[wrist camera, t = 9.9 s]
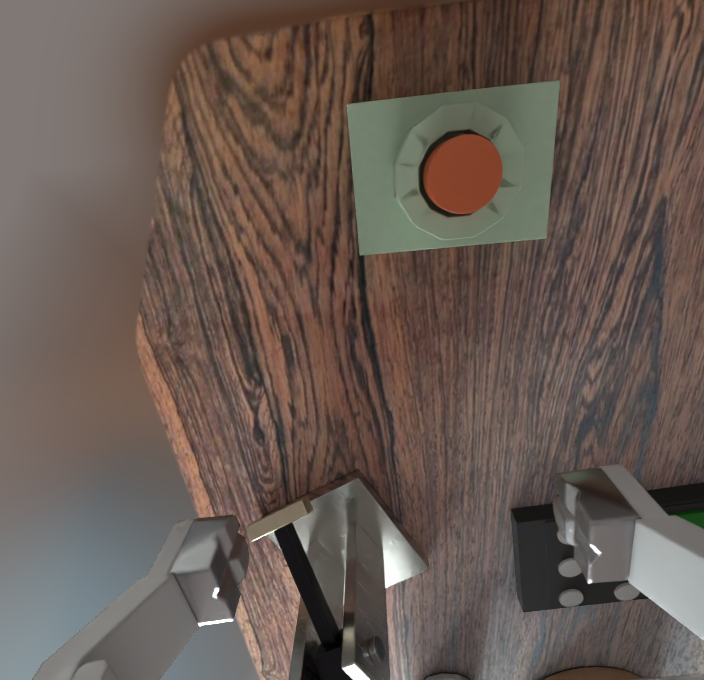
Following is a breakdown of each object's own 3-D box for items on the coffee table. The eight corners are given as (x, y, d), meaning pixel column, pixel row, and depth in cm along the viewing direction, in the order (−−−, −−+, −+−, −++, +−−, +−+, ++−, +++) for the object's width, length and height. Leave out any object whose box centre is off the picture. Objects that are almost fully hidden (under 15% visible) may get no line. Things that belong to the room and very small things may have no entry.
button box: (359, 248, 26) (359, 261, 23) (347, 109, 23) (344, 98, 20) (532, 233, 26) (560, 243, 22) (543, 87, 23) (577, 71, 19)
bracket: (261, 515, 36) (217, 667, 25) (358, 468, 33) (356, 612, 22) (336, 595, 39) (326, 758, 28) (428, 558, 37) (455, 719, 26)
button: (423, 213, 22) (428, 217, 20) (422, 140, 21) (426, 138, 19) (491, 207, 22) (501, 210, 20) (493, 133, 20) (505, 129, 19)
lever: (257, 518, 31) (239, 530, 29) (311, 492, 30) (297, 502, 28) (325, 682, 29) (312, 709, 26) (386, 659, 27) (378, 686, 25)
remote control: (868, 556, 36) (896, 577, 34) (517, 596, 39) (525, 618, 37) (907, 455, 32) (940, 472, 30) (510, 509, 35) (518, 528, 33)
